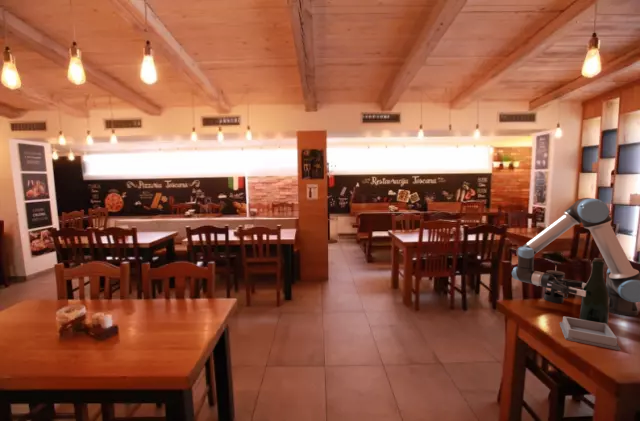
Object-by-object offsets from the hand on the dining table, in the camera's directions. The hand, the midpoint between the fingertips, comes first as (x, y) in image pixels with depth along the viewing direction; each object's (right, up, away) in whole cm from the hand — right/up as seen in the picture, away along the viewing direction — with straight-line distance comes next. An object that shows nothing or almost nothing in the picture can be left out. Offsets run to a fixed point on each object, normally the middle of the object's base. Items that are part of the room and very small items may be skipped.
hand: (592, 291), depth 153 cm
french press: (+6, -14, +33) cm, 36 cm away
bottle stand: (-11, -17, -10) cm, 23 cm away
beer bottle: (+1, -17, +1) cm, 17 cm away
